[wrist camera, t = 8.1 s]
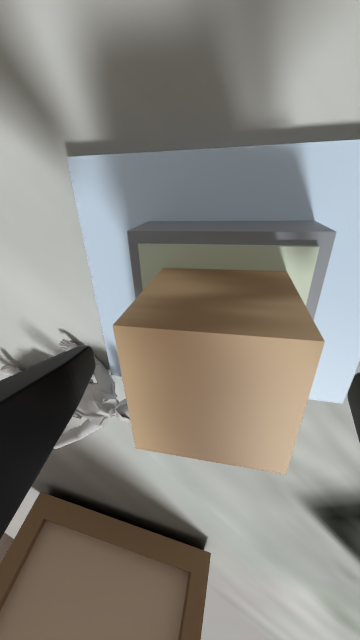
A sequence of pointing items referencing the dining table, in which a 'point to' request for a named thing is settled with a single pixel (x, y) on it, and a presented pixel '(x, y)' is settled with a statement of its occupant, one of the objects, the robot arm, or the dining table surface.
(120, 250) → the board
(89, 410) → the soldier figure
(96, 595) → the photo frame
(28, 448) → the robot arm
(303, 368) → the oak cube
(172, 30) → the dining table surface
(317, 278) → the base block
